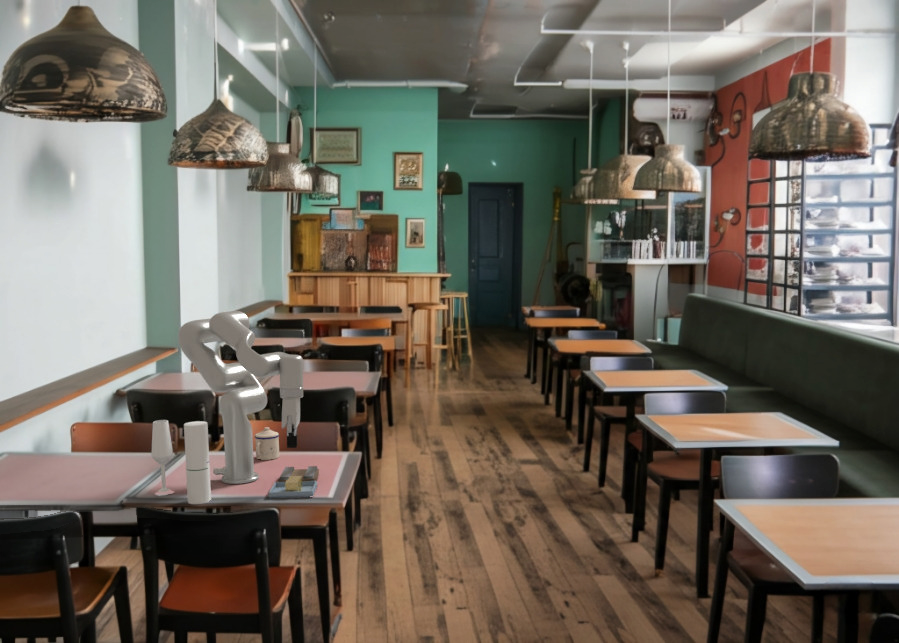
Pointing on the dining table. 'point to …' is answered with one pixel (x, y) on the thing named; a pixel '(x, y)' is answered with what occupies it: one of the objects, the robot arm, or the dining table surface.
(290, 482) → the tan wooden cube
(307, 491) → the tray
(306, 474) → the slot bed
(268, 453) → the teacup with lid
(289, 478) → the light brown cube
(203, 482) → the cylindrical container
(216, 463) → the dining table surface
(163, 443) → the champagne flute
